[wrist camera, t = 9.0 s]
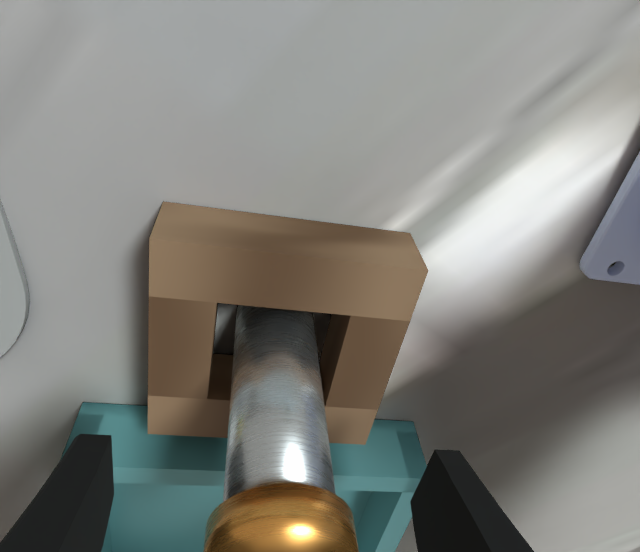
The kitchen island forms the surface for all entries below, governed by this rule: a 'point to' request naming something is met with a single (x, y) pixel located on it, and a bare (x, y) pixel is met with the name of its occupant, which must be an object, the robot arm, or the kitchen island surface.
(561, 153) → the kitchen island surface
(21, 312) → the bracket
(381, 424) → the tray
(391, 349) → the socket
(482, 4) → the kitchen island surface
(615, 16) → the kitchen island surface
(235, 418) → the pin
